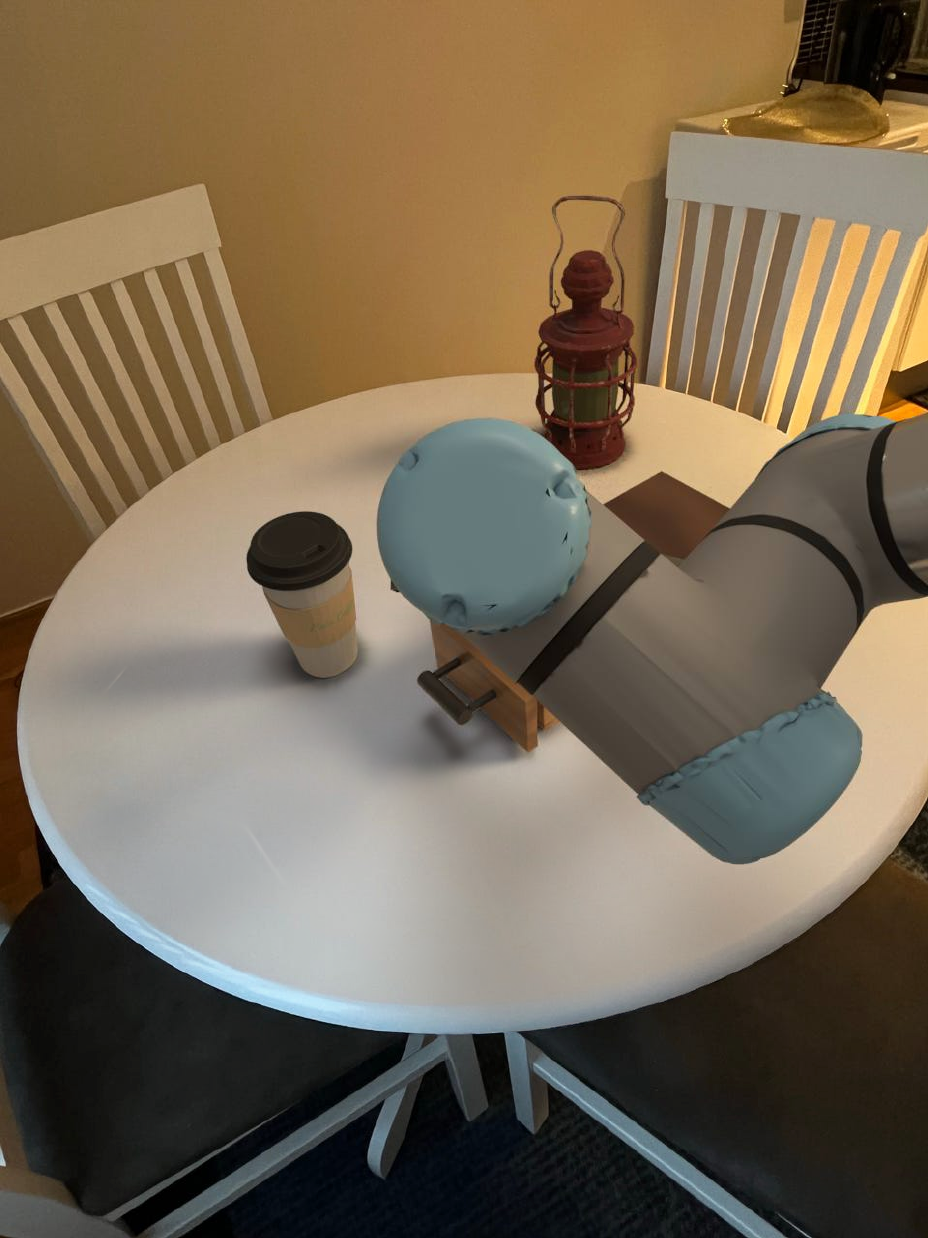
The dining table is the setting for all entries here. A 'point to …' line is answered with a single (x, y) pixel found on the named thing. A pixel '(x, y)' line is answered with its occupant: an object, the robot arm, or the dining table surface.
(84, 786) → the dining table surface
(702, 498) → the cabinet
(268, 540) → the coffee cup
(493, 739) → the dining table surface
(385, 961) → the dining table surface
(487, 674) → the drawer
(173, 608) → the dining table surface
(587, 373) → the lantern
